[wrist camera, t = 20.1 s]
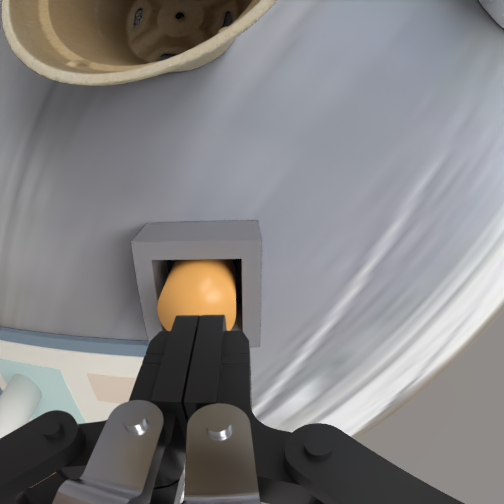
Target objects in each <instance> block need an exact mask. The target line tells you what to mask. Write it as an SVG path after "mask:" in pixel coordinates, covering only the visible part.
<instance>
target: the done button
mask: <svg viewBox="0 0 504 504" xmlns="http://www.w3.org/2000/svg"><path fill="white" fill-rule="evenodd" d="M157 311H158V316H159V319H160V321H161V323H162V325H163V326H164V328H165V329H166V330H167V331H171V329H172V326H173V323H174V320H175V317H176V316H177V315H200V316H201V315H225V318H226V328H227V331H230V330H231V329H232V327H233V325H234V323H235V319H236V269H235V265H234V263H233V261H232V259H197V260H175V261H174V264H173V266H172V268H171V271H170V273H169V275H168V278H167V280H166V283H165V285H164V287H163V290H162V292H161V295H160V297H159V300H158V305H157Z"/></svg>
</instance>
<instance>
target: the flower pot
mask: <svg viewBox="0 0 504 504" xmlns="http://www.w3.org/2000/svg"><path fill="white" fill-rule="evenodd" d="M276 1H277V0H2V5H1V20H2V21H3V22H2V26H3V30H4V33H5V36H6V39H7V40H8V43H9V45H10V48H11V49H12V51H13V52H14V54H15V55H16V56H17V57H18V58H19V59H20V60H21V61H22V63H23V64H25V65H26V66H27V67H28V68H30V69H31V70H33V71H34V72H36V73H38V74H39V75H41V76H43V77H46V78H49V79H52V80H55V81H58V82H62V83H68V84H74V85H85V86H106V85H117V84H124V83H129V82H134V81H139V80H143V79H147V78H151V77H155V76H159V75H161V74H164V73H167V72H180V71H187V70H192V69H196V68H199V67H201V66H203V65H205V64H207V63H209V62H211V61H213V60H214V59H216V58H217V57H219V56H220V55H221V54H222V53H223V52H225V51H226V50H227V49H228V48H229V47H230V45H231V44H232V43H233V42H234V40H235V38H236V37H237V36H239V35H240V34H241V33H243V32H244V31H246V30H247V29H248V28H249V27H250V26H252V25H253V24H254V23H255V22H256V21H257V20H258V19H259V18H260V17H261V16H263V15H264V14H265V13H266V12H267V11H268V10H269V9H270V8H271V7H272V6H273V5H274V4H275V2H276ZM141 8H142V9H143V10H142V14H141V16H142V17H143V18H141V19H140V22H139V24H138V25H137V26H134V21H135V16H136V13H137V11H138V10H139V9H141ZM226 12H231V18H232V21H231V25H229V26H228V27H223V28H222V26H223V24H224V20H225V14H226ZM178 13H183V14H184V17H183V18H181V19H177V18H176V15H177V14H178ZM163 54H174V55H176V56H173V57H171V58H169V59H165V60H160V58H161V55H163Z"/></svg>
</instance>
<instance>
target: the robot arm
mask: <svg viewBox="0 0 504 504" xmlns="http://www.w3.org/2000/svg"><path fill="white" fill-rule="evenodd" d="M479 2H480V3H481V5H482V6H483V7H484V9H485V10H486V11H487V12H488V13H489V15H490V16H491V17H492V18H493V19H494V20H495V21H496V22H497V23H498V24H499V25H500V26H501V27H502V28H503V29H504V0H479ZM185 457H186V462H185ZM184 464H185V469H184ZM54 472H57V473H55V474H54V475H52V476H50V475H51V474H53V473H54ZM48 476H50V477H49V478H47V479H46V480H44V481H42V482H40V481H41V480H43V479H45V478H46V477H48ZM184 481H185V493H184V501H183V503H181V504H261V502H264V503H269V504H464V503H462V502H460V501H458V500H456V499H454V498H453V497H451V496H449V495H447V494H445V493H443V492H441V491H439V490H437V489H436V488H434V487H432V486H430V485H428V484H427V483H425V482H423V481H421V480H419V479H418V478H416V477H414V476H413V475H411V474H409V473H407V472H406V471H404V470H402V469H401V468H399V467H397V466H396V465H394V464H392V463H391V462H389V461H387V460H386V459H384V458H383V457H381V456H379V455H378V454H376V453H375V452H373V451H371V450H370V449H368V448H367V447H365V446H363V445H362V444H361V443H359V442H357V441H356V440H354V439H353V438H351V437H350V436H348V435H347V434H345V433H344V432H342V431H341V430H339V429H338V428H336V427H334V426H331V425H327V424H321V423H316V424H308V425H305V426H302V427H300V428H298V429H297V430H295V431H294V432H293V433H291V432H286V431H281V430H276V429H273V428H270V427H268V426H266V425H264V424H262V423H261V422H260V421H258V420H257V419H256V417H255V416H254V414H253V413H252V401H251V367H250V347H249V340H248V338H247V337H246V335H245V334H244V332H243V331H242V330H235V331H227V328H226V318H225V315H201V316H200V315H177V316H176V317H175V320H174V323H173V326H172V329H171V331H160V332H159V333H158V334H157V335H156V336H155V337H154V338H153V339H152V340H151V341H150V343H149V345H148V348H147V351H146V355H145V356H144V359H143V362H142V365H141V367H140V370H139V373H138V375H137V378H136V381H135V384H134V387H133V390H132V392H131V395H130V398H129V401H128V402H125V403H123V404H121V405H119V406H117V407H116V408H115V409H114V410H113V411H112V412H111V414H110V415H109V417H108V419H107V420H105V421H99V422H91V423H83V424H78V423H77V422H76V420H75V419H74V417H73V416H72V415H71V414H69V413H67V412H65V411H61V410H53V411H49V412H46V413H44V414H42V415H40V416H39V417H37V418H35V419H33V420H32V421H30V422H28V423H26V424H25V425H23V426H21V427H20V428H18V429H16V430H14V431H13V432H11V433H9V434H7V435H5V436H4V437H2V438H0V504H180V500H181V495H182V490H183V486H184ZM38 482H40V483H39V484H37V485H35V484H36V483H38ZM33 485H35V486H34V487H32V488H29V487H31V486H33Z"/></svg>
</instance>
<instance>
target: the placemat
mask: <svg viewBox="0 0 504 504" xmlns="http://www.w3.org/2000/svg"><path fill="white" fill-rule="evenodd" d="M148 345H149V342H148V341H138V340H119V339H104V338H91V337H80V336H69V335H59V334H50V333H41V332H33V331H26V330H18V329H11V328H5V327H0V395H1V394H2V392H3V390H4V389H5V387H6V386H7V384H8V383H9V381H10V380H11V378H12V377H13V376H14V375H15V374H22V375H24V376H26V377H28V378H29V379H31V380H32V381H33V382H34V383H35V384H36V385H37V386H38V388H39V389H40V391H41V394H42V397H41V399H40V401H39V403H38V405H37V406H36V408H35V410H34V412H33V414H32V416H31V418H30V419H29V421H28V422H30V421H32V420H33V419H35V418H37V417H39V416H40V415H42V414H44V413H46V412H49V411H53V410H61V411H65V412H67V413H69V414H71V415H72V416H73V417H74V419H75V420H76V422H77V423H78V424H83V423H91V422H99V421H105V420H107V419H108V417H109V415H110V414H111V412H112V411H113V410H114V409H115V408H116V407H117V406H119V405H121V404H123V403H125V402H128V401H129V398H130V395H131V392H132V390H133V387H134V384H135V381H136V378H137V375H138V373H139V370H140V367H141V365H142V362H143V359H144V356H145V355H146V351H147V348H148Z"/></svg>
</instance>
